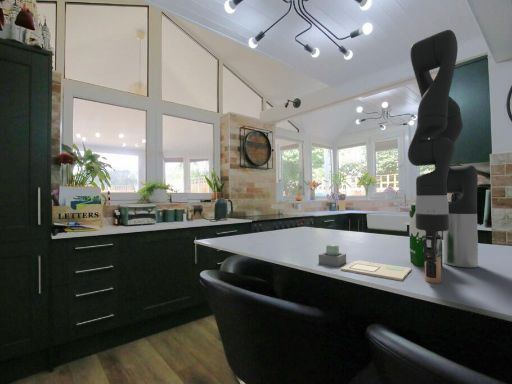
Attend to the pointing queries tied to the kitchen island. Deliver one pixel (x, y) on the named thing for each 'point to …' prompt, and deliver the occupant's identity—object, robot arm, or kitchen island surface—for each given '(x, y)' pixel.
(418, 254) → the milk carton
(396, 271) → the sheet
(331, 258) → the button base
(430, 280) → the orange jar
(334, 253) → the button
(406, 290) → the kitchen island surface
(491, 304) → the kitchen island surface
